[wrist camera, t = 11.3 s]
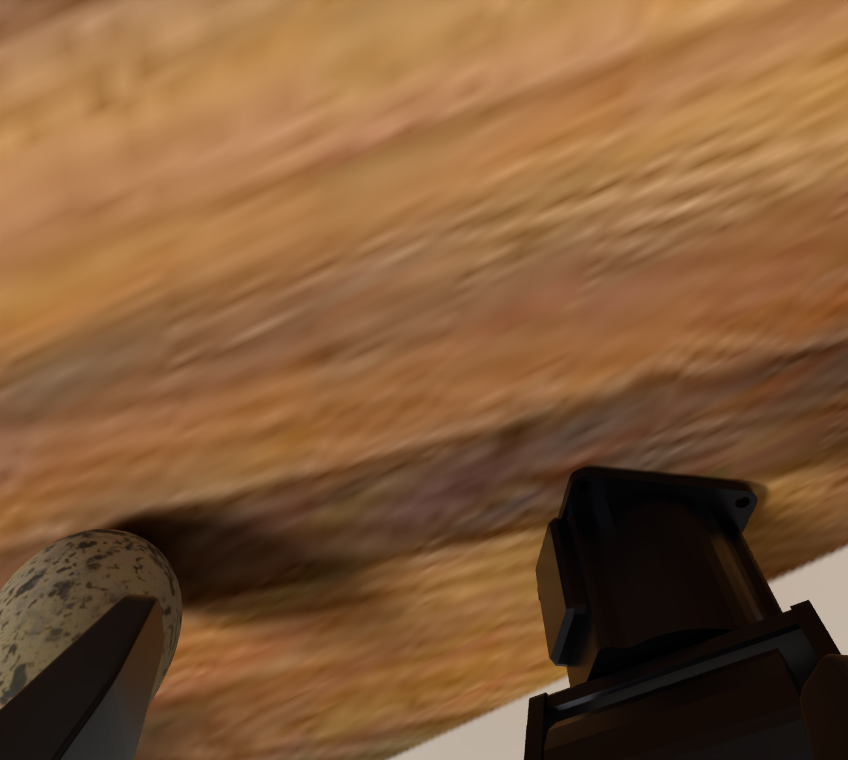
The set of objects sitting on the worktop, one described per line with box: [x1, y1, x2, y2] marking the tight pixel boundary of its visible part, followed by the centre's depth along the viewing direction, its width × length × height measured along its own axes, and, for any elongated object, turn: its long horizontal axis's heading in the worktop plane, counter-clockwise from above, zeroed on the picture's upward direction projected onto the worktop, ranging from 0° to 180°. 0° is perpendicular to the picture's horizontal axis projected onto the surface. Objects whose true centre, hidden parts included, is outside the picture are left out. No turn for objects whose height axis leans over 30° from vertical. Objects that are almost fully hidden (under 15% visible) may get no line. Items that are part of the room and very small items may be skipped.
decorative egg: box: [0, 529, 182, 709], centre depth 23 cm, size 6×6×10 cm
